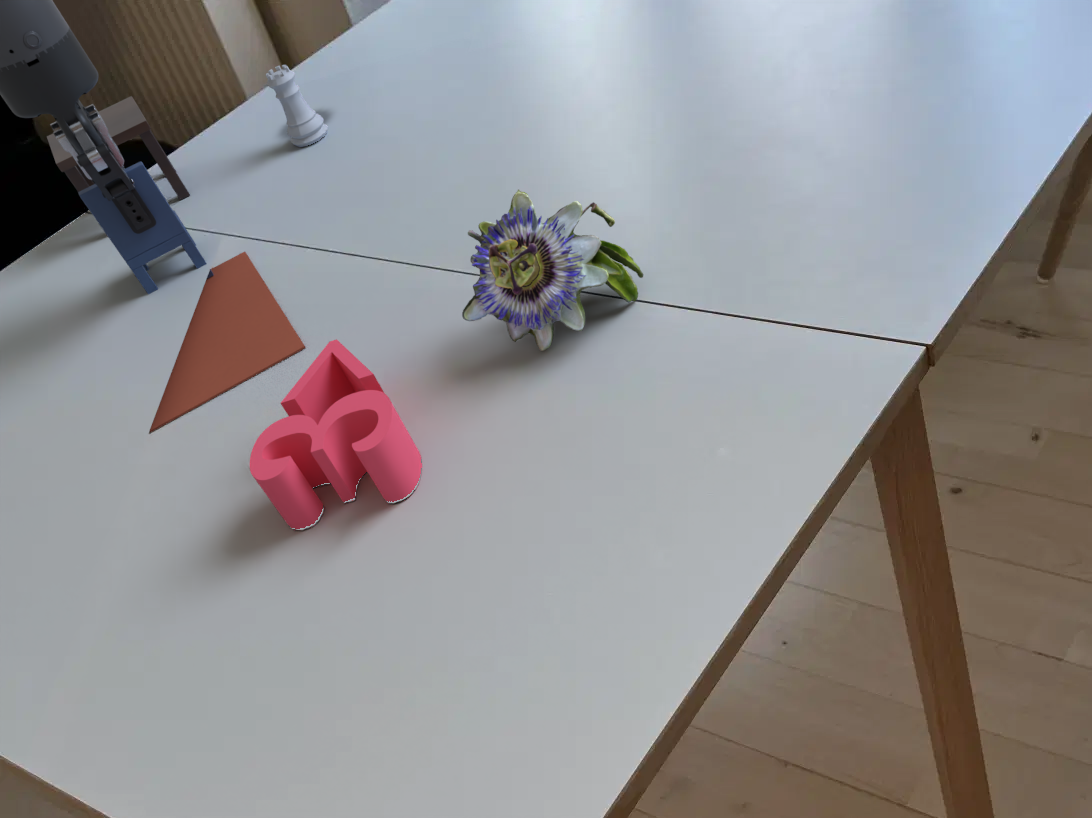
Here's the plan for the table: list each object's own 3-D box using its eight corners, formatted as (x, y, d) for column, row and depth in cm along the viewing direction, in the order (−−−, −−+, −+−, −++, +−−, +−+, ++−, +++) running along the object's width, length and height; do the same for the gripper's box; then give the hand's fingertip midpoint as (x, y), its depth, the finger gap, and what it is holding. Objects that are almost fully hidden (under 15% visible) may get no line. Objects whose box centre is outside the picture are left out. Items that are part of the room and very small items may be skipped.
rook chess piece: (325, 142, 122) (290, 74, 116) (288, 152, 123) (252, 85, 117) (333, 123, 125) (300, 56, 120) (297, 133, 126) (263, 67, 120)
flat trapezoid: (112, 322, 105) (110, 320, 105) (245, 252, 108) (244, 251, 107) (150, 432, 89) (149, 431, 89) (306, 347, 92) (304, 346, 92)
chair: (145, 282, 108) (71, 174, 100) (201, 253, 110) (132, 144, 102) (156, 305, 104) (79, 195, 96) (214, 275, 105) (142, 164, 97)
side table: (95, 207, 127) (46, 136, 120) (175, 167, 129) (131, 95, 122) (107, 237, 119) (56, 164, 113) (192, 195, 121) (146, 120, 115)
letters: (303, 408, 85) (272, 358, 82) (426, 371, 84) (400, 319, 81) (280, 537, 75) (243, 486, 72) (420, 496, 74) (389, 443, 71)
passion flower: (571, 397, 86) (438, 335, 80) (566, 298, 93) (443, 232, 86) (666, 314, 80) (529, 239, 73) (654, 214, 86) (528, 135, 79)
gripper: (-26, 44, 93) (96, 220, 105) (-17, 84, 83) (117, 272, 95) (57, 6, 94) (169, 183, 106) (76, 41, 85) (197, 231, 96)
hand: (144, 225), depth 100 cm, fingers closed on chair, 1 cm apart
